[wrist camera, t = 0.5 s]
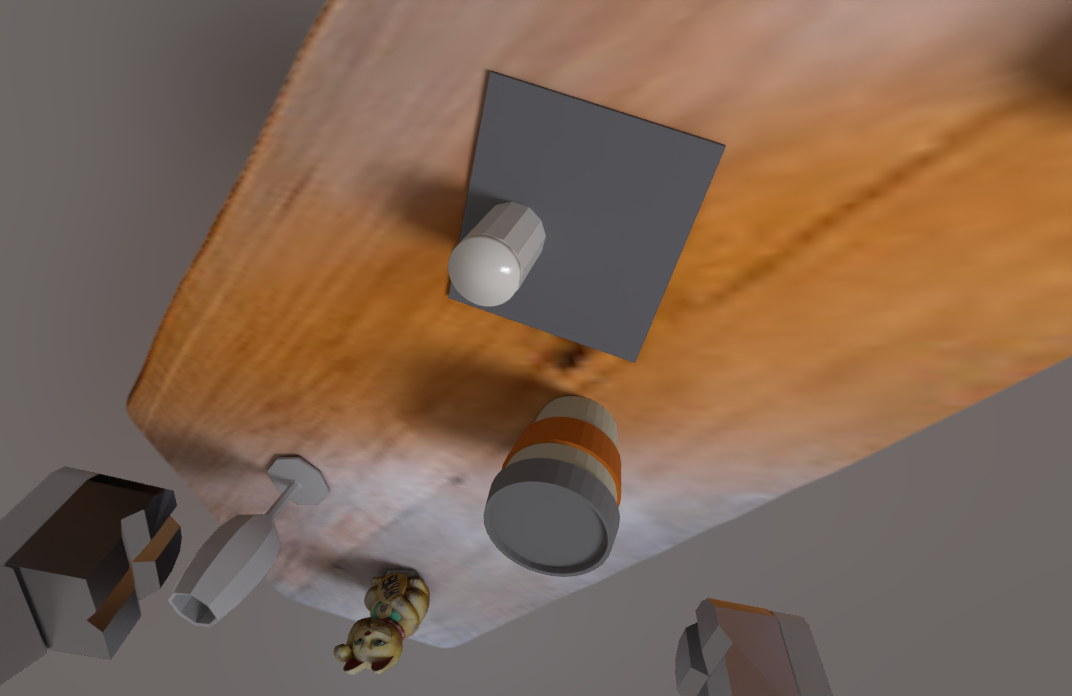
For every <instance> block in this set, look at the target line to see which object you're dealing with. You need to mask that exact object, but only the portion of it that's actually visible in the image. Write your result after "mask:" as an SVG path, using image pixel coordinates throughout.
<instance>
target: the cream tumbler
mask: <svg viewBox="0 0 1072 696" xmlns="http://www.w3.org/2000/svg"><path fill="white" fill-rule="evenodd" d="M545 238H546V236H545V232H544V228H543V225H542V221H541V219H540V218H539V217H538V216H537V215H536V214H535V213H534V212H533V211H532V210H531V209H530V208H528V207H527V206H524V205H521V204H518V203H515V202H507V203H503V204H498V205H495V206H494V207H493V208H492V209H491V210H490V211H489V212H488V213H487V214H486V215H485V216H484V218H483V219H482V220H481V221H480V222H479V223H478V224H477V225H476V226H475V227H474V228H473V229H472V230H471V231H470V232H469V233H468V235H467V236H466V237H465V238H464V239H463V240H462V241H461V242H460V243H459V244H458V245H457V246H456V247H455V248H454V250H453V252H452V253H451V256H450V258H449V263H448V271H449V276H450V279H451V282H452V284H453V285H454V287H455V289H456V290H457V291H458V292H459V293H460V294H461V295H462V296H463V297H464V298H465V299H467V300H468V301H470V302H472V303H474V304H477V305H481V306H497V305H500V304H503V303H505V302H506V301H508V300H509V299H510V298H511V297H512V296H513V295H514V293H515V292H516V291H517V290H518V289H519V288H520V286H521V284H522V283H523V281H524V279H525V278H526V276H527V275H528V273H529V271H530V270H531V268H532V266H533V265H534V263H535V262H536V260H537V258H538V257H539V255H540V254H541V252H542V249H543V245H544V241H545Z"/></svg>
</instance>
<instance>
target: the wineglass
mask: <svg viewBox="0 0 1072 696" xmlns="http://www.w3.org/2000/svg"><path fill="white" fill-rule="evenodd" d="M267 472H268V474H269V476H270V478H271V480H272V481H273V483H274V485H275V487H276V489H277V490H278V491H279V492H280V493H282V494H281V495H280V497H279V498H278V499H277V500H276V501H275V503H274V504H273V505H272V506H271V508H270V509H269V510H268V511H267V512H266V514H258V515H236V516H235V517H233V518H232V519H230V520H229V521H227V522H226V523H225V524H223V525H222V526H220V527H219V528H218V529H217V530H216V531H215V532H214V533H213V535H211V537H210V538H209V539H208V540H207V541H206V542H205V543H204V544H203V545H202V547H201V548H200V549H199V550H198V552H197V553H196V554H195V556H194V557H193V558H192V560H191V561H190V563H189V564H188V566H187V567H186V569H185V570H184V572H183V573H182V575H181V576H180V578H179V579H178V580H177V582H176V584H175V586H174V588H173V591H172V593H171V595H170V597H169V599H168V601H169V603H170V604H171V605H172V607H173V608H174V609H175V611H176V612H177V613H178V614H179V615H180V616H182V617H183V618H185V619H186V620H188V621H189V622H191V623H193V624H194V625H196V626H205V627H212V626H214V625H215V624H216V623H217V622H219V621H220V620H221V619H222V618H223V617H225V616H226V615H227V614H229V613H230V612H231V611H232V610H233V609H234V608H235V607H236V606H237V605H238V604H239V603H240V602H241V600H243V599H244V597H245V596H246V595H247V594H248V593H249V592H250V591H251V590H252V589H253V588H254V587H255V586H256V585H257V584H258V583H259V582H260V581H261V579H262V578H263V577H264V575H265V574H266V573H267V571H268V570H269V569H270V567H271V566H272V565H273V563H274V561H275V558H276V556H277V553H278V551H279V549H280V546H281V544H282V543H281V540H280V537H279V535H278V532H277V529H276V526H275V523H274V518H275V517H276V516H277V515H278V514H279V512H280V511H281V510H282V509H283V507H284V506H285V505H286V504H287V502H288V501H289V500H292V501H293V502H294V503H296V504H297V505H318V504H319V503H320V502H321V501H322V500H323V499H324V498H325V497H326V495H327V494H328V493H329V492H330V489H329V487H328V485H327V483H326V481H325V480H324V478H323V476H322V474H321V472H320V471H319V470H318V469H316V468H315V467H314V466H312V465H311V464H309V463H308V462H307V461H305V460H304V459H303V458H301V457H300V456H298V457H278V458H277V459H276V461H275V462H274V463H273V464H272V466H271V467H270V468H269V469H268V471H267Z"/></svg>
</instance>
